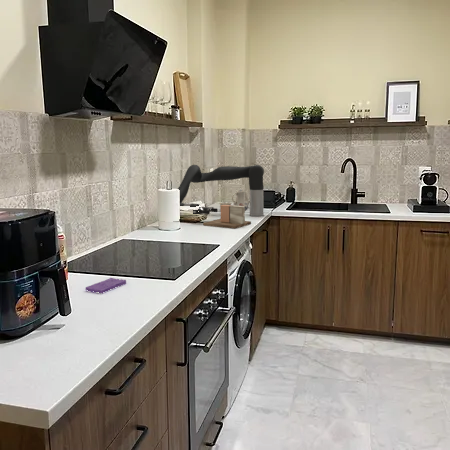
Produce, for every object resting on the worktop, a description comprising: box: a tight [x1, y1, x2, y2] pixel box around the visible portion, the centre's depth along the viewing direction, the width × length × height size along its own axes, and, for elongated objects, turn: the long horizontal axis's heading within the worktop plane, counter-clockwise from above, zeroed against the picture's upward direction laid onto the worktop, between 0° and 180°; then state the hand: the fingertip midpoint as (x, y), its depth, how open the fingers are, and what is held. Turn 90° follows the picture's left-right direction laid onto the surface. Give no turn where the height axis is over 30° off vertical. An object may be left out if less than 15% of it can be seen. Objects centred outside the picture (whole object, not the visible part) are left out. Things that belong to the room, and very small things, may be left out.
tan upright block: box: [220, 204, 233, 223], centre depth 273 cm, size 4×6×10 cm, turn 57°
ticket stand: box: [203, 204, 252, 230], centre depth 273 cm, size 18×22×12 cm
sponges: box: [85, 277, 127, 294], centre depth 157 cm, size 7×13×2 cm, turn 152°
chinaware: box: [219, 187, 250, 211], centre depth 334 cm, size 28×17×17 cm, turn 132°
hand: (213, 211), depth 278 cm, fingers open, 8 cm apart
